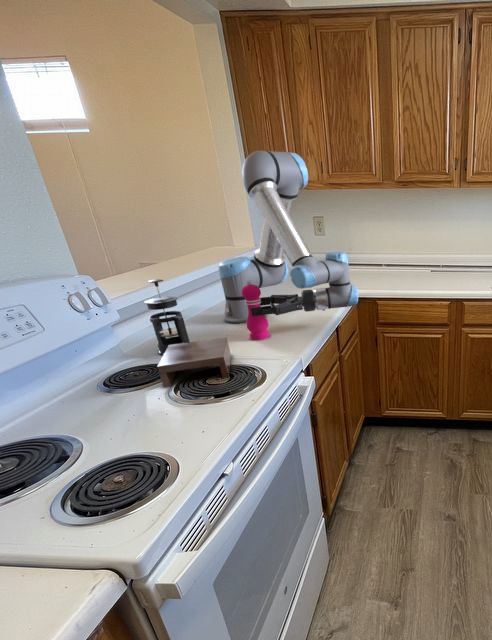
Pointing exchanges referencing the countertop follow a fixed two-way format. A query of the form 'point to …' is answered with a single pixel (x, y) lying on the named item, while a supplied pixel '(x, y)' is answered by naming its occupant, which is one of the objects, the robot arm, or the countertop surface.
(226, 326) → the countertop surface
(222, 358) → the shelf
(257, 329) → the pepper mill
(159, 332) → the french press
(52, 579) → the countertop surface
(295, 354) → the countertop surface
